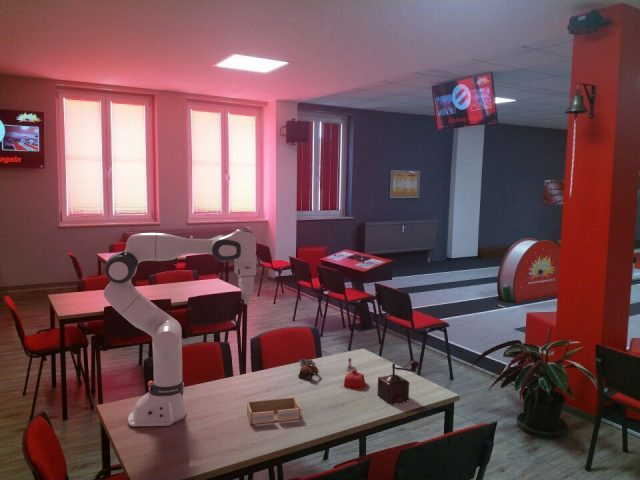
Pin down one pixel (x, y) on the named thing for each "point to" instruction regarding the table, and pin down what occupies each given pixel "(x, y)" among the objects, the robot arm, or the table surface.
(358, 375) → the butter dish
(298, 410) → the right flap
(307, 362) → the egg carton
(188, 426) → the table surface
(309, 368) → the pottery mug
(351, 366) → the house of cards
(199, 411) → the table surface
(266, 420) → the left flap
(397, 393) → the manual coffee grinder
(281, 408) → the carton
